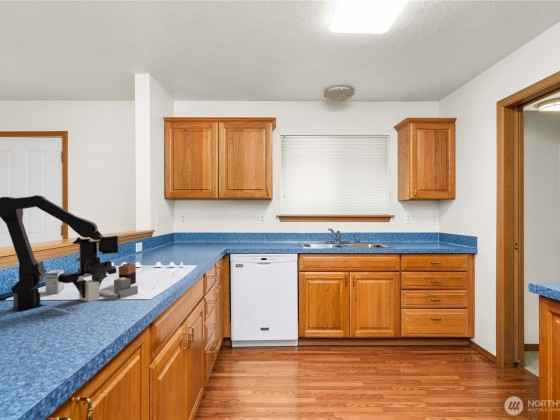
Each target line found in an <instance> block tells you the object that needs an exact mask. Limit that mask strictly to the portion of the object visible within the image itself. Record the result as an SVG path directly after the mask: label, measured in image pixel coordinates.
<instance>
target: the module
mask: <svg viewBox="0 0 560 420" xmlns="http://www.w3.org/2000/svg"><path fill="white" fill-rule="evenodd" d="M99 290H100V287H99V282H98V281H92V279H89V280H86V283H85V298H82V296H81V295H80V293H79V292H78V293H79V294H78V296H79V300H80V301H85V302H93V301H96V300H99V299H100V298H101V297H100V296H101V295H100V292H99Z"/></svg>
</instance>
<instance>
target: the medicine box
mask: <svg viewBox="0 0 560 420" xmlns="http://www.w3.org/2000/svg"><path fill="white" fill-rule="evenodd" d="M62 273H65V272H64V269H52V270H49V271H48V272H45V277H44V279H45V295H46V294H49V295H57V294H60V292H62V291H63V290H64V288H65V283H62V282H58V277H59V275H60V274H62Z"/></svg>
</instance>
